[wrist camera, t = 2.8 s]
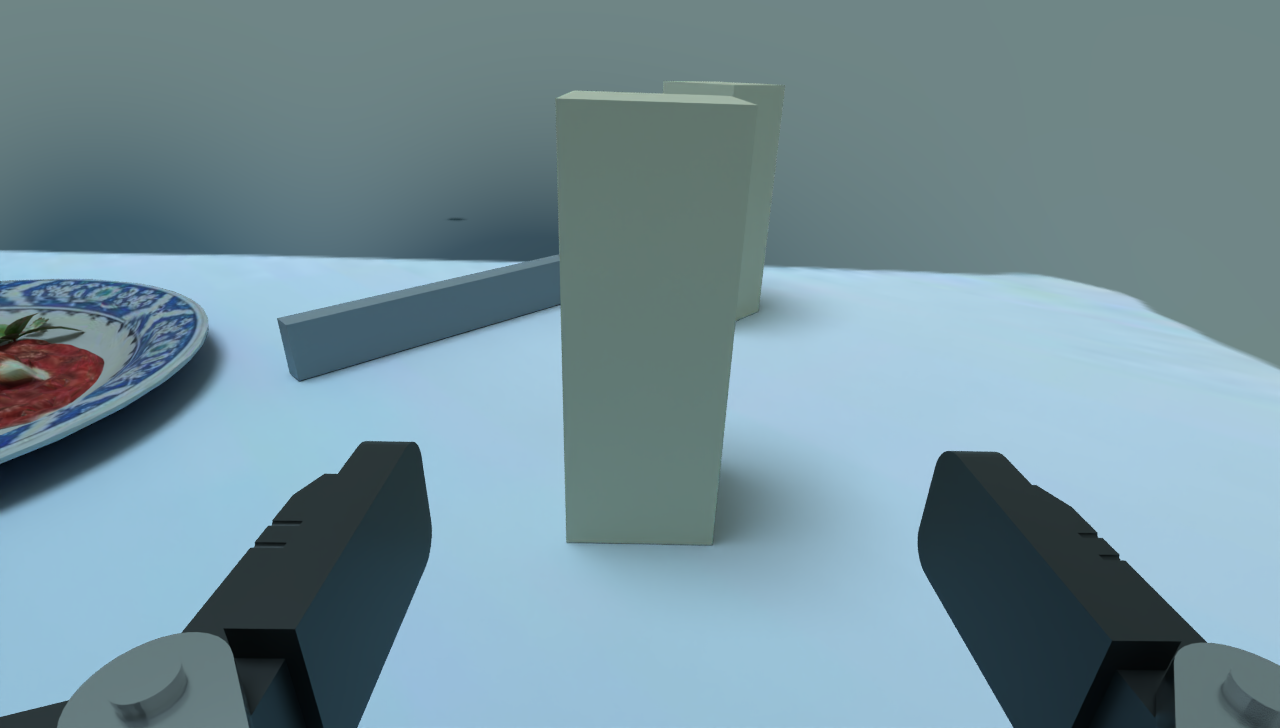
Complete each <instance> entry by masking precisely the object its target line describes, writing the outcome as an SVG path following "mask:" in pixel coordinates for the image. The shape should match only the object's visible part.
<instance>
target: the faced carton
mask: <svg viewBox="0 0 1280 728" xmlns="http://www.w3.org/2000/svg"><path fill="white" fill-rule="evenodd" d="M784 90H785V85H771V84H751V83H730V82H691V81H689V82H688V81H685V82H684V81H682V82H681V81H664V83H663V94H687V95H717V96H732V97H735V98H738V99H741V100H744V101H747V102H750V103H753V104H756V105H758V108H757V117H756V127H755V137H754V146H753V156H752V166H751V175H750V185H749V195H748V205H747V214H746V224H745V234H744V243H743V253H742V263H741V272H740V282H739V292H738V302H737V311H736V321H737V320H739V319H742V318H744V317H747V316H749V315H751V314H754V313H756V312H758V310H759V302H760V293H761V285H762V277H763V268H764V260H765V250H766V242H767V234H768V225H769V217H770V208H771V200H772V192H773V183H774V175H775V165H776V158H777V150H778V141H779V133H780V124H781V115H782V107H783V99H784Z"/></svg>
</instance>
